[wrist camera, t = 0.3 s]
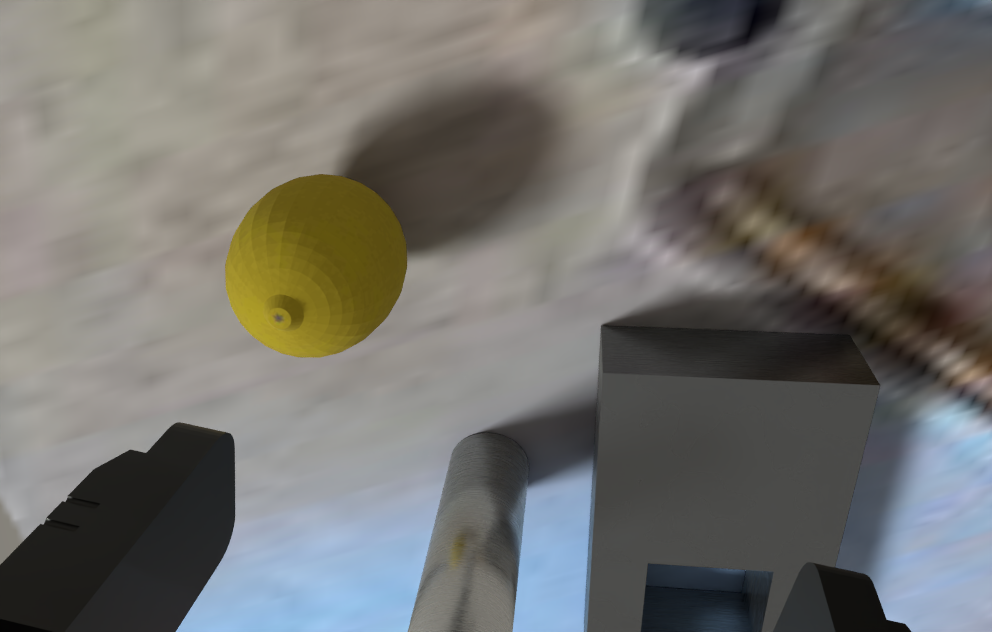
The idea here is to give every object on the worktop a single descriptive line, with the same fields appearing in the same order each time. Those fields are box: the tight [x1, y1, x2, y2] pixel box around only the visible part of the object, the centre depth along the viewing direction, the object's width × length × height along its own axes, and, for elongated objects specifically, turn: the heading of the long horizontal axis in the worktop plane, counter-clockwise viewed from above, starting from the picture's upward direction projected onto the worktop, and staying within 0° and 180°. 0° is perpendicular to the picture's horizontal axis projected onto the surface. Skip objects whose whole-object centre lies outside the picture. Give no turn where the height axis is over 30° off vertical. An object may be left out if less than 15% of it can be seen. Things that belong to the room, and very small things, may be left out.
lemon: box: [225, 174, 407, 357], centre depth 26 cm, size 6×6×8 cm
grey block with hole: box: [584, 326, 880, 632], centre depth 32 cm, size 16×9×4 cm, turn 0°
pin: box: [408, 433, 529, 632], centre depth 29 cm, size 3×3×12 cm
